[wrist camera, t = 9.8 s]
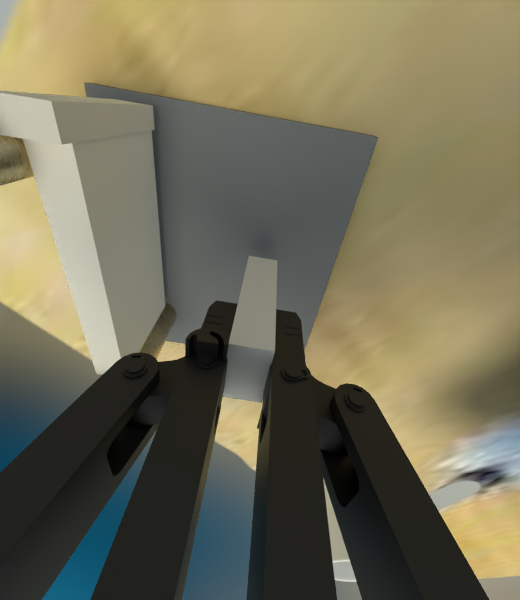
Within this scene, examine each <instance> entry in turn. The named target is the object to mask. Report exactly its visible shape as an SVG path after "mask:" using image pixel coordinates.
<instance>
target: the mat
mask: <svg viewBox="0 0 520 600" xmlns="http://www.w3.org/2000/svg"><path fill="white" fill-rule="evenodd" d="M84 83H85V82H84ZM85 89H86V95H87V97H91V98H105V99H117V100H123V101H129V102H135V103H141V104H147V105H153V114H154V128H155V130H152V141H153V154H154V166H155V179H156V192H157V205H158V218H159V231H160V243H161V256H162V269H163V282H164V295H165V302H166V303H168V304H170V305H171V306H172V307H173V308H174V309H175V311H176V320H175V322H174V324H173V326H172V328H171V330H170V332H169V334H168V336H167V338H166V341H171V342H178V343H185V339H186V337H187V336H188V335H189V333H191V332H193V331H195V330H197V329H201V327H202V324H203V323H204V319H205V316H206V314H207V311H208V308H209V306H210V305H212V304H213V303H214V302H215V301H216V300H218V301H224V302H230V303H236V304H238V301H239V296H240V292H241V288H242V283H243V279H244V275H245V270H246V266H247V262H248V257H249V256H254V257H260V258H266V259H272V260H277V296H276V309H278V310H284V311H290V312H296V313H297V315H298V316H299V318H300V319H301V323H302V333H303V344H304V349H305V347H306V344H307V341H308V338H309V335H310V332H311V329H312V326H313V324H314V321H315V318H316V315H317V312H318V309H319V306H320V303H321V301H322V298H323V295H324V292H325V289H326V286H327V283H328V280H329V278H330V275H331V272H332V269H333V266H334V263H335V260H336V257H337V255H338V252H339V249H340V246H341V243H342V240H343V237H344V234H345V232H346V229H347V226H348V223H349V220H350V217H351V214H352V211H353V209H354V206H355V203H356V200H357V197H358V194H359V191H360V188H361V186H362V183H363V180H364V177H365V174H366V171H367V168H368V165H369V163H370V160H371V157H372V154H373V151H374V148H375V145H376V142H377V139H378V137H376V136H371V135H365V134H360V133H355V132H349V131H344V130H339V129H333V128H328V127H322V126H317V125H312V124H306V123H301V122H296V121H290V120H285V119H280V118H274V117H269V116H263V115H258V114H253V113H247V112H242V111H237V110H231V109H226V108H220V107H215V106H210V105H204V104H199V103H194V102H188V101H183V100H178V99H172V98H167V97H161V96H156V95H151V94H145V93H140V92H135V91H129V90H124V89H119V88H113V87H108V86H102V85H97V84H92V83H85ZM185 344H186V343H185Z"/></svg>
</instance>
